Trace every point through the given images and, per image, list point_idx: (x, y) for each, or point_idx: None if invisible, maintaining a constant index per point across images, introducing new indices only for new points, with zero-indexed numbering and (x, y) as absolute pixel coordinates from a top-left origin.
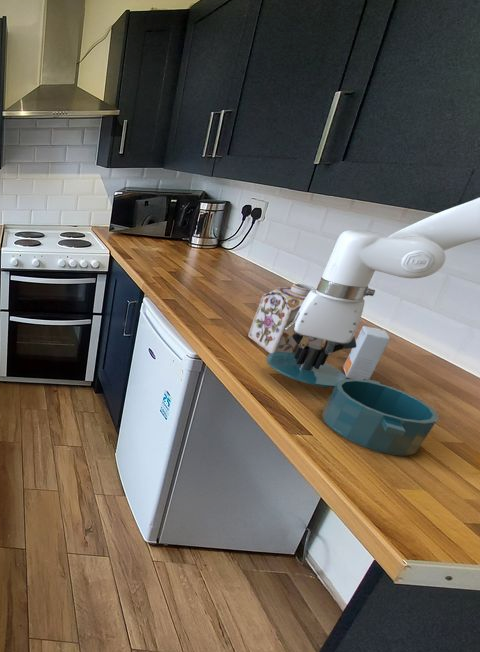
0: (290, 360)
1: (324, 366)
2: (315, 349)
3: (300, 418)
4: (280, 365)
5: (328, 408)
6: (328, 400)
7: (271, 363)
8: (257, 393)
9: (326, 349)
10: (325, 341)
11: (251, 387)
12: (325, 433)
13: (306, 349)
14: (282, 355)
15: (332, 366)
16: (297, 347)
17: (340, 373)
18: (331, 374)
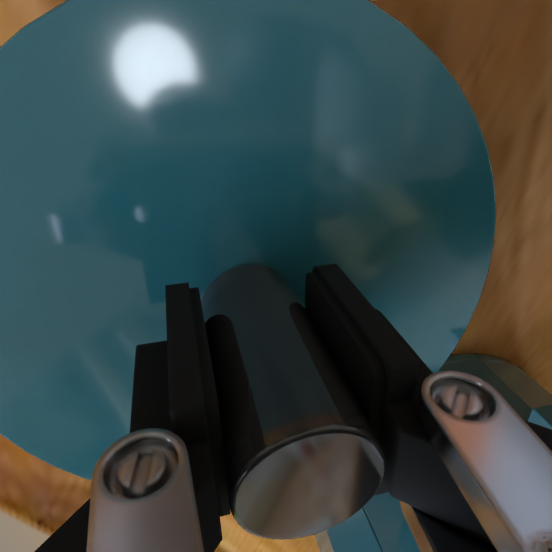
0: (130, 249)
1: (397, 158)
2: (313, 527)
3: (234, 536)
4: (78, 412)
5: (320, 545)
6: (327, 536)
7: (10, 426)
8: (62, 505)
9: (421, 541)
10: (479, 487)
11: (19, 480)
12: (299, 549)
13: (226, 509)
14: (37, 172)
15: (464, 105)
16: (131, 423)
17: (476, 221)
18: (408, 285)
